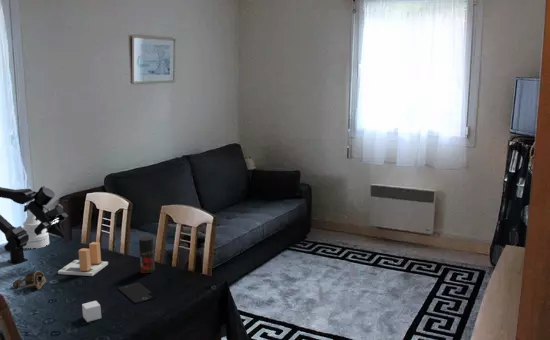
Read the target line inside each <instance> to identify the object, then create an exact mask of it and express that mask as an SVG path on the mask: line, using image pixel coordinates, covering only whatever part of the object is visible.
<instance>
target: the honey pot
mask: <svg viewBox="0 0 550 340" xmlns="http://www.w3.org/2000/svg"><path fill="white" fill-rule="evenodd" d="M35 219H36V217H35V216H34V215H33V214H32V213H31V212H30V213H29V214H28V215H27V217H26V219H25V221H24V222H23V223H22V225H23V227H22V228H23V229H24V230H25V231H27V232H26V233H27V234H28V235H29V240H28V242H27V245H26V246H24V247H23V249H25V248H27V249H26V250H34V249H33V248H36V249H39V248H44V247H47V246H48V245H50V236H49V234H50V233H46V231H47V228H45V229H43V230H42V233H41V234H40V235H38V236H37V235H36V234H35V233H34V229H35V228H36V227H37V226H38V225H39V224H40V223H41V222H40V221H39V220H37V221H36V220H35ZM46 245H47V246H46ZM28 248H29V249H28ZM30 248H31V249H30Z"/></svg>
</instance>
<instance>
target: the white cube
mask: <svg viewBox="0 0 550 340" xmlns="http://www.w3.org/2000/svg"><path fill="white" fill-rule="evenodd" d="M81 308H82V318H83V319H84V320H85V321H86V322H87V323H90V322H92V321H93V322H94V321H96V320H100V319H102V307H101V304H100V303H99V302H98V301H97V300H93V301H89V302H86V303H82V304H81Z"/></svg>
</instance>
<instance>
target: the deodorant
mask: <svg viewBox="0 0 550 340" xmlns="http://www.w3.org/2000/svg"><path fill="white" fill-rule="evenodd" d="M138 245H139V246H138V247H139V263H140V273H141V272H142V273H148V272H152V271H154V270H155V271H156V268H155V267H156V266H155V252H154V251H155V250H154V249H155V248H154V237H153V236H151V235H149V236H145V235H144V236H141V237H139V238H138ZM142 273H141V274H142Z"/></svg>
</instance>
